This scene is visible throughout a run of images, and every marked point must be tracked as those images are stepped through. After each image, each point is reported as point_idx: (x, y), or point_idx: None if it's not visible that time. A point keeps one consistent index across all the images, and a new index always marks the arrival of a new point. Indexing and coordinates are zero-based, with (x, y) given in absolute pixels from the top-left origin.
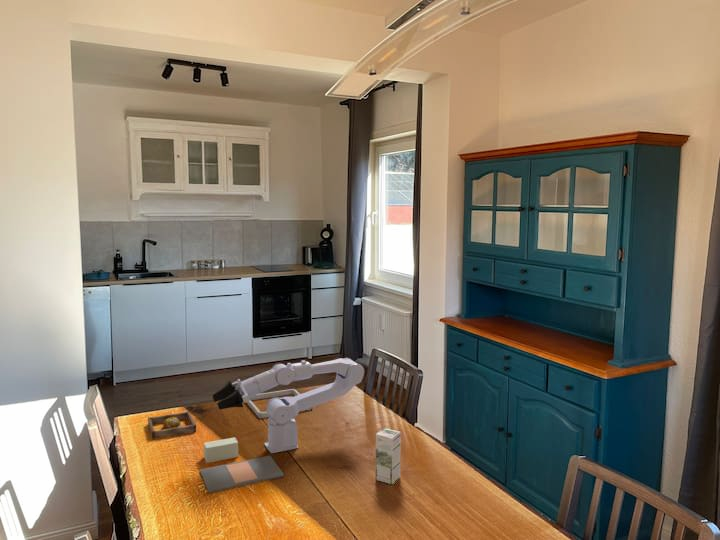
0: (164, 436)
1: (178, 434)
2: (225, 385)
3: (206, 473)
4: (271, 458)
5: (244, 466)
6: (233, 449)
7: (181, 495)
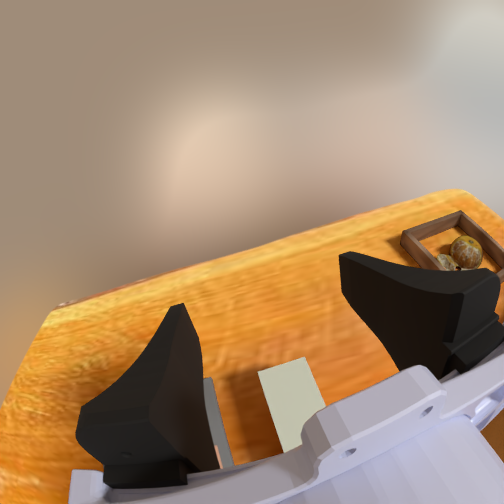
0: (415, 258)
1: None
2: (441, 273)
3: None
4: None
5: None
6: None
7: (116, 350)
